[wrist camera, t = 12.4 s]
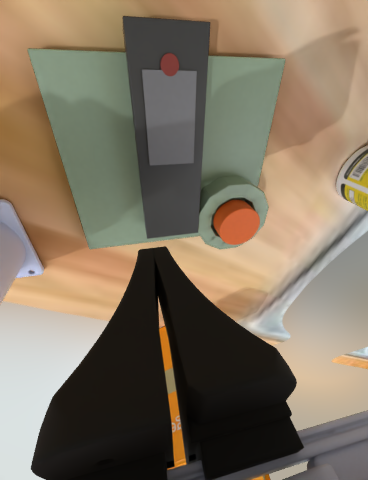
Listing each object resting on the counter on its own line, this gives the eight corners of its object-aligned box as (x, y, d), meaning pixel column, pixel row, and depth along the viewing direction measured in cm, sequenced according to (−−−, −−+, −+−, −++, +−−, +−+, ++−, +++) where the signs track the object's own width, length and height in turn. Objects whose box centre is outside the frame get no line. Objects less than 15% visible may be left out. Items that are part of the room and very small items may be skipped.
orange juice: (148, 333, 32) (172, 574, 16) (201, 307, 31) (280, 534, 16) (171, 352, 37) (207, 554, 21) (218, 330, 36) (291, 522, 20)
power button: (211, 236, 20) (217, 247, 19) (214, 201, 18) (222, 210, 17) (246, 232, 21) (255, 242, 19) (254, 197, 19) (264, 206, 17)
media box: (92, 244, 21) (87, 267, 19) (35, 51, 13) (11, 42, 10) (243, 226, 24) (259, 244, 22) (277, 60, 16) (309, 55, 13)
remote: (191, 219, 20) (198, 234, 18) (144, 224, 20) (147, 240, 18) (198, 29, 13) (212, 19, 11) (122, 25, 12) (122, 12, 10)
